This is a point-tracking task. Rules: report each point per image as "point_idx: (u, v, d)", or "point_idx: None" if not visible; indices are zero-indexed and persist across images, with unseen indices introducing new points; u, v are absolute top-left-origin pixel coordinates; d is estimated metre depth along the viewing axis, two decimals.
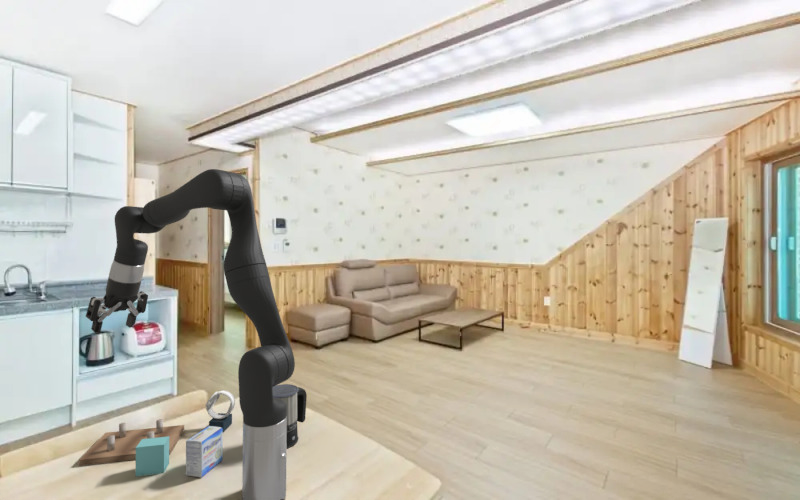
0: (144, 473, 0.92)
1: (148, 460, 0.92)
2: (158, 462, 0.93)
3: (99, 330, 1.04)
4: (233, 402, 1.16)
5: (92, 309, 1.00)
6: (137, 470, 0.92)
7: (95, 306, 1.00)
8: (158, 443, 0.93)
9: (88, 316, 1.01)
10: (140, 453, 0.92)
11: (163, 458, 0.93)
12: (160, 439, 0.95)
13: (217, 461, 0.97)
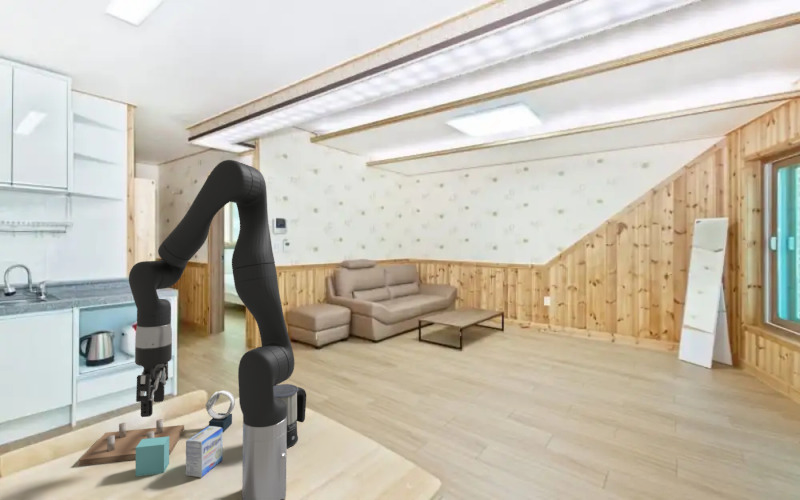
0: (144, 473, 0.92)
1: (148, 460, 0.92)
2: (158, 462, 0.93)
3: (152, 410, 0.90)
4: (233, 402, 1.16)
5: (146, 387, 0.87)
6: (137, 470, 0.92)
7: (149, 382, 0.88)
8: (158, 443, 0.93)
9: (141, 398, 0.87)
10: (140, 453, 0.92)
11: (163, 458, 0.93)
12: (160, 439, 0.95)
13: (217, 461, 0.97)
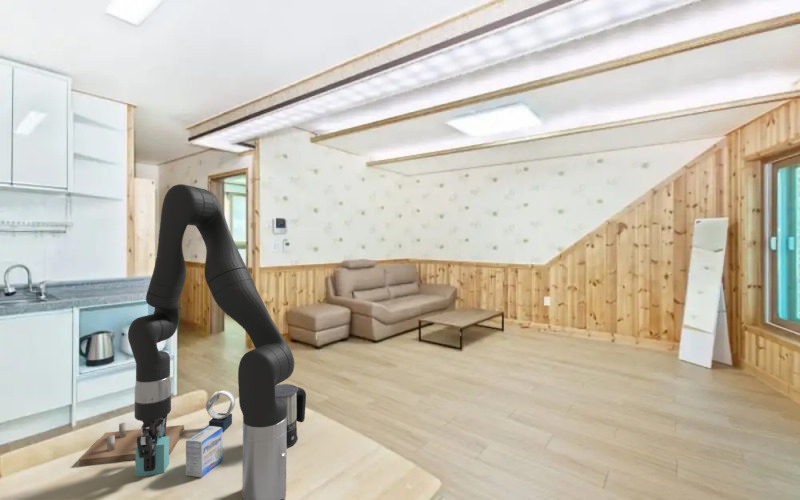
0: (144, 473, 0.92)
1: None
2: (158, 462, 0.93)
3: (154, 464, 0.92)
4: (233, 402, 1.16)
5: (147, 447, 0.89)
6: (137, 470, 0.92)
7: (149, 443, 0.88)
8: (158, 443, 0.93)
9: (144, 454, 0.89)
10: None
11: (163, 458, 0.93)
12: (160, 439, 0.95)
13: (217, 461, 0.97)
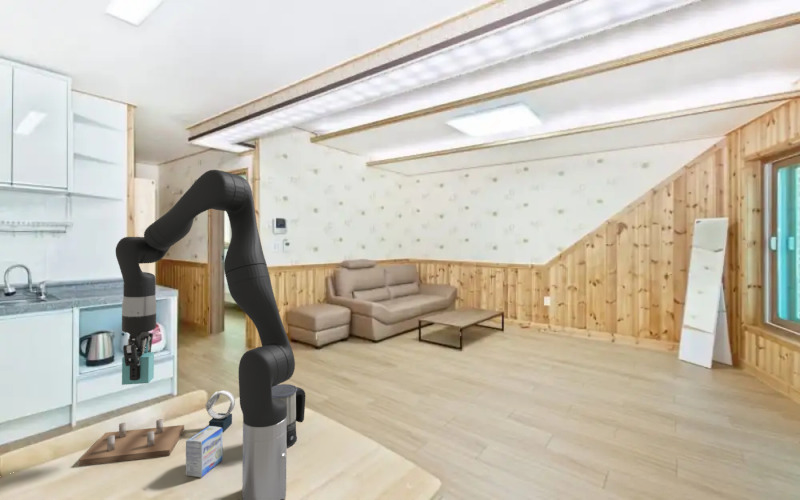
0: (130, 382, 1.00)
1: None
2: (142, 372, 1.00)
3: None
4: (233, 402, 1.16)
5: (133, 355, 0.96)
6: (123, 379, 0.99)
7: (135, 351, 0.96)
8: (143, 356, 1.01)
9: (130, 363, 0.97)
10: None
11: (148, 369, 1.01)
12: (145, 353, 1.03)
13: (217, 461, 0.97)
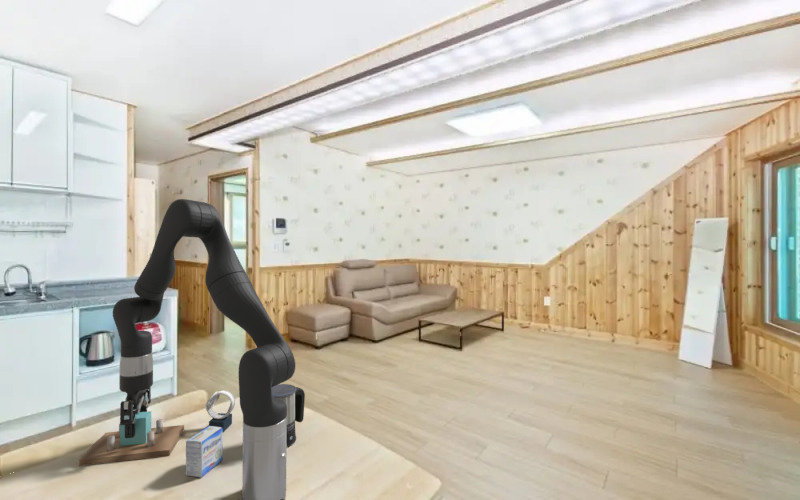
0: (128, 443, 1.02)
1: None
2: (140, 433, 1.03)
3: None
4: (233, 402, 1.16)
5: (129, 412, 0.98)
6: (121, 440, 1.02)
7: (131, 407, 0.98)
8: (141, 417, 1.03)
9: (125, 422, 0.98)
10: (124, 425, 1.02)
11: (145, 430, 1.03)
12: (143, 413, 1.06)
13: (217, 461, 0.97)
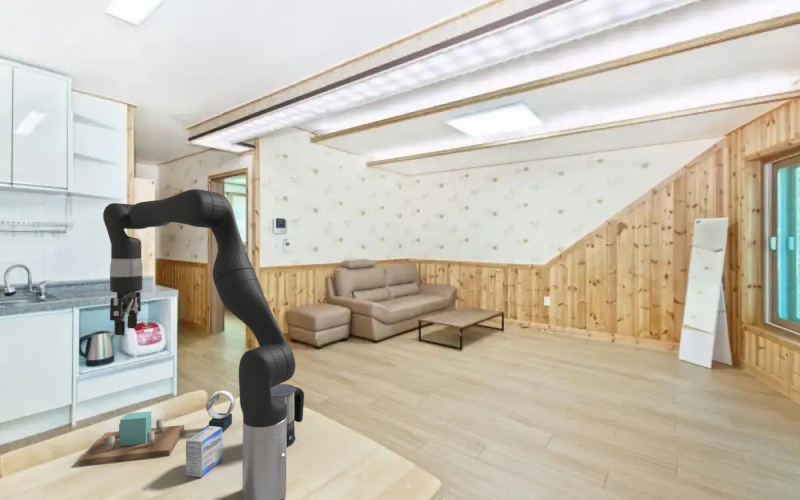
0: (128, 443, 1.02)
1: (132, 431, 1.02)
2: (140, 433, 1.03)
3: (124, 330, 1.06)
4: (233, 402, 1.16)
5: (118, 308, 1.03)
6: (121, 440, 1.02)
7: (121, 304, 1.03)
8: (141, 417, 1.03)
9: (114, 317, 1.02)
10: (124, 425, 1.02)
11: (145, 430, 1.03)
12: (143, 413, 1.06)
13: (217, 461, 0.97)
